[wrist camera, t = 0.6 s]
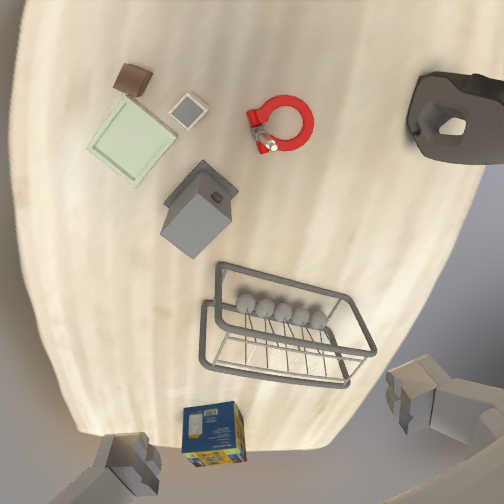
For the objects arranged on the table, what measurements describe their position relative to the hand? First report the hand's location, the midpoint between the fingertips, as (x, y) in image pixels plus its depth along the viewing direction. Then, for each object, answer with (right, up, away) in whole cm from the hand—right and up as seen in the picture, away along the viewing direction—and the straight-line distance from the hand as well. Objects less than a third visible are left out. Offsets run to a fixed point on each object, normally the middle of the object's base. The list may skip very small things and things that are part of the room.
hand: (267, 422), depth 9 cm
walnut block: (-18, +32, +34) cm, 50 cm away
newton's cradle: (+5, -4, +57) cm, 57 cm away
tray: (-20, +23, +38) cm, 49 cm away
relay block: (-10, +27, +37) cm, 47 cm away
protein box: (-12, -42, +77) cm, 88 cm away
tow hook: (+4, +26, +40) cm, 47 cm away
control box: (-9, +15, +44) cm, 48 cm away
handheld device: (+30, +31, +39) cm, 58 cm away
